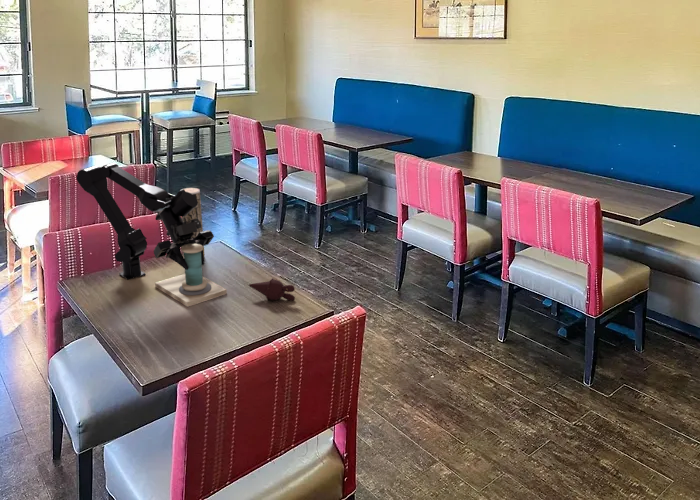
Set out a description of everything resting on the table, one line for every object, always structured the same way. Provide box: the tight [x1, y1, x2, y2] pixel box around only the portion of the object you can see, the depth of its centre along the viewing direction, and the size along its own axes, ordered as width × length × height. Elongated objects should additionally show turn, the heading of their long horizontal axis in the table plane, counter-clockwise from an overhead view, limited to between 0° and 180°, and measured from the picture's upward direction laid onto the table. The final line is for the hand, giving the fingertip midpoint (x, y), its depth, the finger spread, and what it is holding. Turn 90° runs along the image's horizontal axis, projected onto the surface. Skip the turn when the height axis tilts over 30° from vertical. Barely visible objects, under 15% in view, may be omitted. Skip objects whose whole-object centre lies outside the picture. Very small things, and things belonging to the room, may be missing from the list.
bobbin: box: [180, 244, 207, 291], centre depth 202 cm, size 8×8×13 cm
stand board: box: [154, 273, 228, 307], centre depth 206 cm, size 20×14×2 cm
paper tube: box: [181, 187, 205, 256], centre depth 229 cm, size 7×7×25 cm
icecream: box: [248, 277, 296, 302], centre depth 200 cm, size 7×7×15 cm
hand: (195, 267), depth 200 cm, fingers closed on bobbin, 5 cm apart
